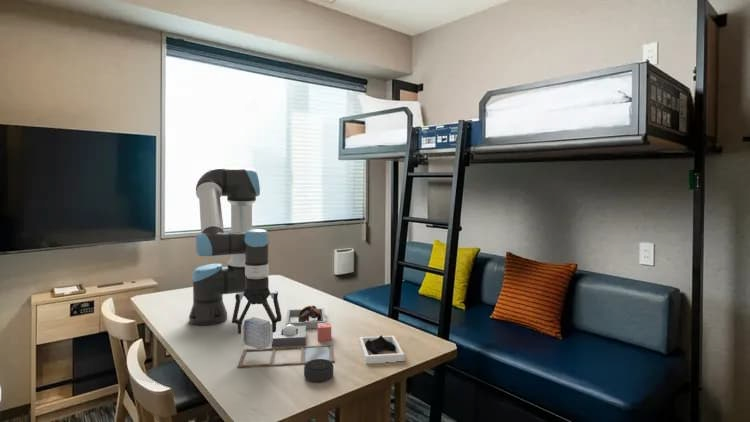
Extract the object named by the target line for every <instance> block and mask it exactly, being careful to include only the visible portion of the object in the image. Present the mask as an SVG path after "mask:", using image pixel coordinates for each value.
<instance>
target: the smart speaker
mask: <svg viewBox="0 0 750 422" xmlns="http://www.w3.org/2000/svg"><path fill="white" fill-rule="evenodd" d="M303 375H304V376H303V377H304V378H305V379H306V380H308V381H310V382H313V383H323V382H326V381H328V380H330V379H331V378H332V377H333V376H334V364H333V363H332V362H330V361H329V360H325V359H315V360H311V361H309V362H307V363H306V364H304V366H303Z"/></svg>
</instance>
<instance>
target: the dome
mask: <svg viewBox="0 0 750 422" xmlns="http://www.w3.org/2000/svg"><path fill="white" fill-rule="evenodd" d="M283 327H284V328H283V335H295V334H296V327H295V326H294V325H292V324H288V325H286V324H285V325H284V326H283Z"/></svg>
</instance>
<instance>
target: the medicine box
mask: <svg viewBox="0 0 750 422" xmlns="http://www.w3.org/2000/svg"><path fill="white" fill-rule="evenodd" d="M243 321H244V327H245V342H244V345H245V346H248V347H250V348H253V349H260V350H262V349H264V348H269V347H270V346H271V343H270V322H271V321H270V320H269V321H268V320H266V319H262V318H259V317H255V316H254V317H250V318H247V319H245V320H243Z"/></svg>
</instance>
